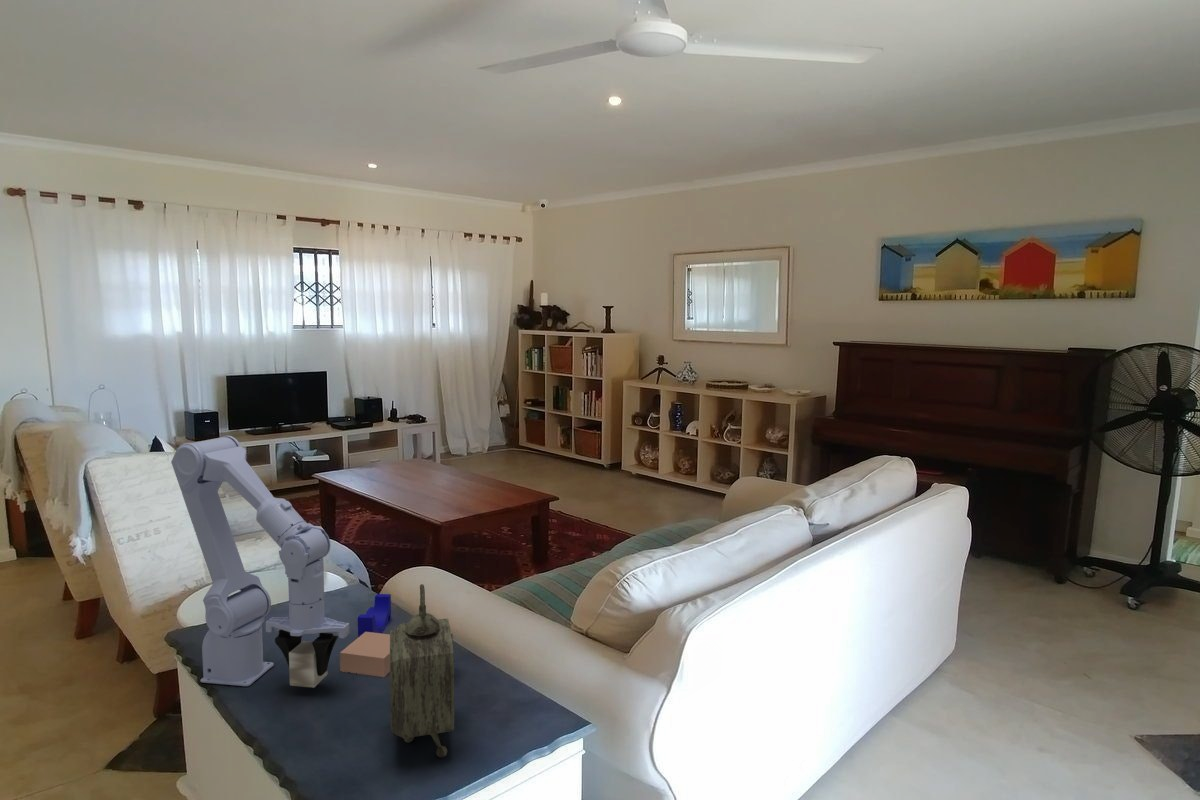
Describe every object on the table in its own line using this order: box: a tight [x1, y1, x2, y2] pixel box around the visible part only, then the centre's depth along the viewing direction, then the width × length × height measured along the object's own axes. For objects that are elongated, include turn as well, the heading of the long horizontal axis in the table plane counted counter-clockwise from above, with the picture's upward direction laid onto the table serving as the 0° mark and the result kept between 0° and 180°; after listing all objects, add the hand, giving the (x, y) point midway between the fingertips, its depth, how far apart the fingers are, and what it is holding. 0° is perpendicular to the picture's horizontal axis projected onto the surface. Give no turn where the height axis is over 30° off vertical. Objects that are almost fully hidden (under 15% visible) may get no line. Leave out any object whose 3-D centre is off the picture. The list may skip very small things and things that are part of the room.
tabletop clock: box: [389, 583, 455, 759], centre depth 107 cm, size 14×9×25 cm, turn 17°
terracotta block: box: [339, 632, 390, 678], centre depth 132 cm, size 9×9×4 cm
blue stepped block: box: [357, 593, 392, 638], centre depth 145 cm, size 12×4×6 cm, turn 0°
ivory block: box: [288, 640, 328, 689], centre depth 122 cm, size 4×4×6 cm
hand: (308, 671), depth 122 cm, fingers closed on ivory block, 4 cm apart
